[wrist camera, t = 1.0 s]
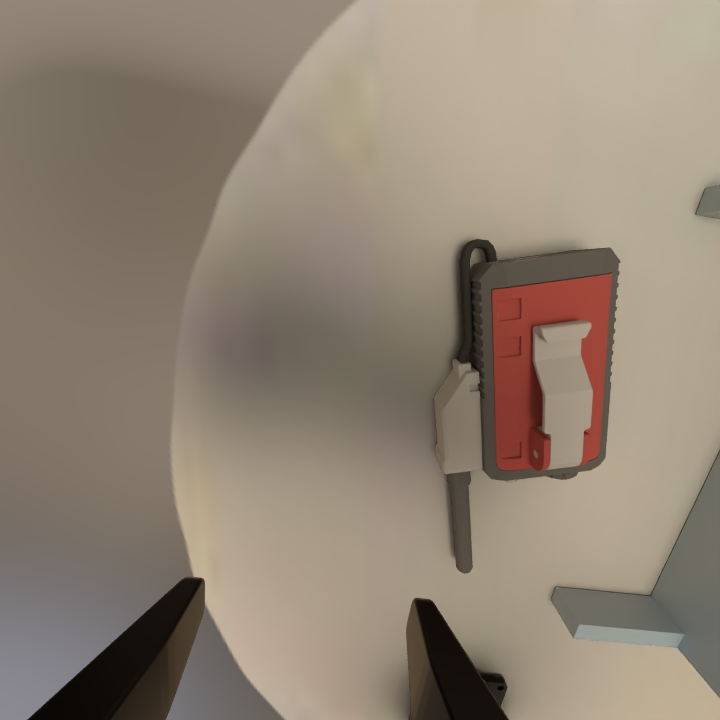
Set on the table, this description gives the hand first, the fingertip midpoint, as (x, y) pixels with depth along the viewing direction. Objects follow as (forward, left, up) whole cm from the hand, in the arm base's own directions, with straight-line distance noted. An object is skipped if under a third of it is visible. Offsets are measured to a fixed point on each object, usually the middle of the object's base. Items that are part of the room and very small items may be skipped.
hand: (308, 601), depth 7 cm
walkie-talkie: (0, -10, -13) cm, 16 cm away
